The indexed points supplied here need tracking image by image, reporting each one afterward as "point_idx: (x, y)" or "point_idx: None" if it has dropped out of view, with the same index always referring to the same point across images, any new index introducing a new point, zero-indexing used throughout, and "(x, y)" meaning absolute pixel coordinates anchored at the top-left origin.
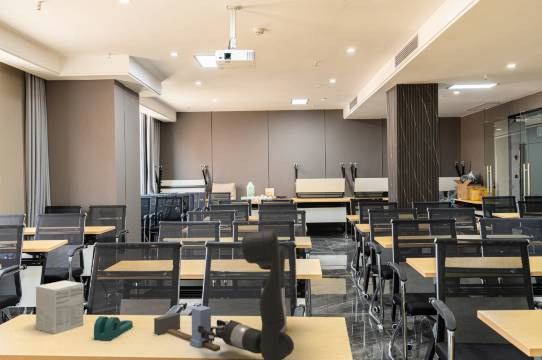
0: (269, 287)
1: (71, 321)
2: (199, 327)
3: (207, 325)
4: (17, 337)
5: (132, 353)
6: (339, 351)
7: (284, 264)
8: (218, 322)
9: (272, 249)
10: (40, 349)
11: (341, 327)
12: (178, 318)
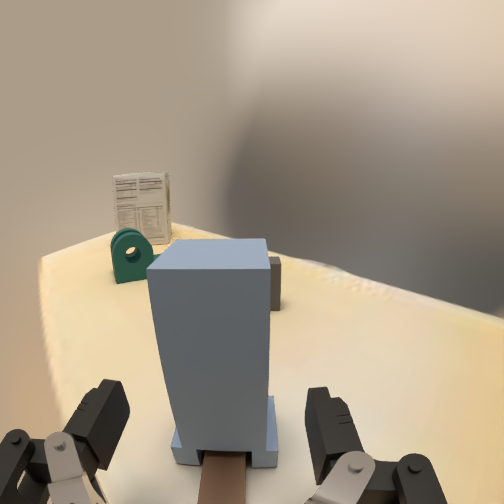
0: None
1: (144, 233)
2: (98, 394)
3: (233, 390)
4: (95, 241)
5: (58, 336)
6: None
7: None
8: (311, 411)
9: None
10: (60, 263)
11: None
12: (274, 277)
